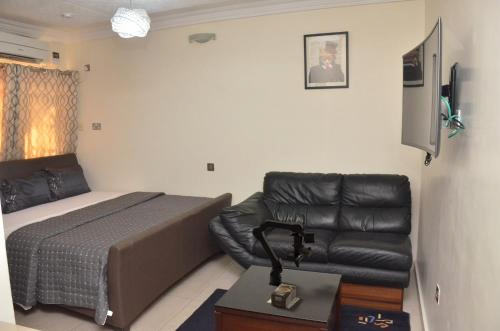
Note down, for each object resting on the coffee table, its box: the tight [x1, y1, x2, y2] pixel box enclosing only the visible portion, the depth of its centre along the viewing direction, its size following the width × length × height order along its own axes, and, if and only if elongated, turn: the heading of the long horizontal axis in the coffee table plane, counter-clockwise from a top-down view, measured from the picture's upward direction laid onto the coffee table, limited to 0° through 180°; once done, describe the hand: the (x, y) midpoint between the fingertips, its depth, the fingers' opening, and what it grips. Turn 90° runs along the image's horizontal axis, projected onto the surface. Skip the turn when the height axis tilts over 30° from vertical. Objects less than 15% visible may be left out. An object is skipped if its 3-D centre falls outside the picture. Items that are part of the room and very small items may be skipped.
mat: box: [266, 296, 300, 309], centre depth 223 cm, size 14×14×1 cm
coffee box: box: [270, 283, 297, 309], centre depth 222 cm, size 9×6×16 cm
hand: (297, 267), depth 243 cm, fingers closed
